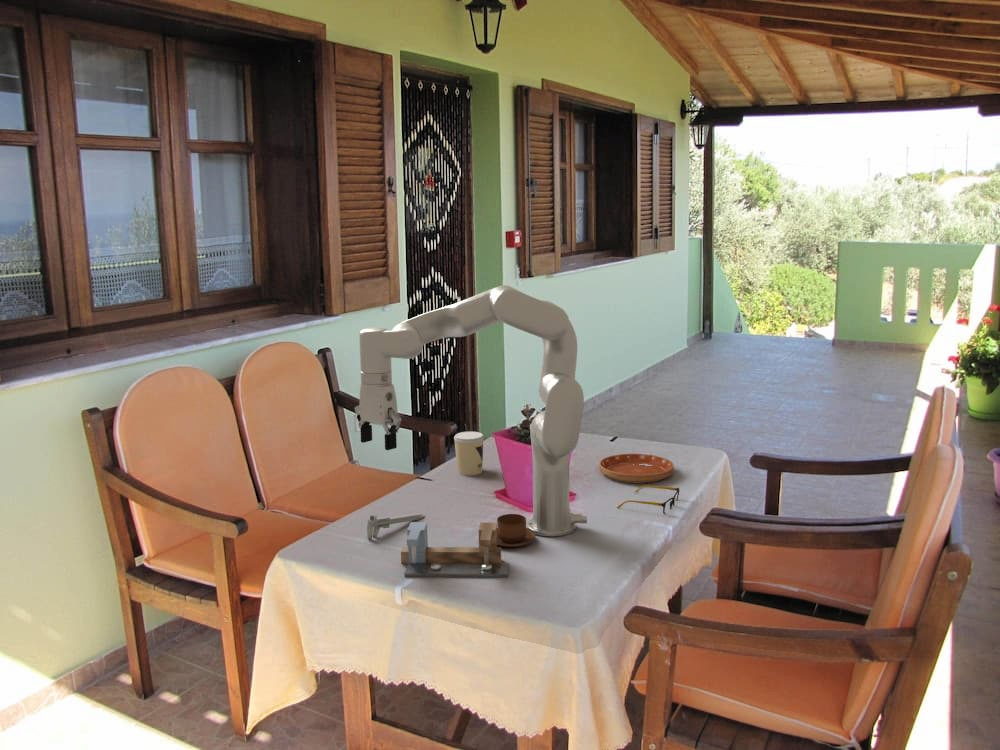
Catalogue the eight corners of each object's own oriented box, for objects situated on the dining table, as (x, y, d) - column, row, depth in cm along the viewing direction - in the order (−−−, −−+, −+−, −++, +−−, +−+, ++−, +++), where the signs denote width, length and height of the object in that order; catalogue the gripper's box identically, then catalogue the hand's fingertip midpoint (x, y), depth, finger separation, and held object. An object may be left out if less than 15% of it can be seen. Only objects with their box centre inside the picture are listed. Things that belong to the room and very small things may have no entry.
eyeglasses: (666, 517, 252) (666, 503, 251) (616, 509, 258) (616, 495, 258) (682, 501, 264) (682, 487, 263) (633, 494, 271) (634, 481, 270)
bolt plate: (508, 566, 220) (508, 560, 220) (507, 577, 215) (507, 570, 214) (408, 566, 222) (408, 559, 222) (404, 576, 216) (404, 570, 216)
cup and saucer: (480, 539, 238) (479, 516, 237) (520, 529, 244) (519, 507, 243) (503, 554, 228) (502, 531, 227) (544, 544, 234) (544, 521, 233)
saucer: (600, 462, 300) (600, 451, 299) (672, 464, 297) (672, 453, 296) (597, 485, 278) (597, 473, 277) (675, 487, 275) (675, 475, 274)
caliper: (370, 541, 239) (369, 517, 237) (367, 540, 239) (366, 516, 238) (425, 517, 254) (424, 495, 253) (422, 516, 255) (421, 494, 254)
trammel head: (428, 555, 227) (426, 522, 225) (421, 574, 216) (420, 539, 214) (412, 555, 227) (410, 522, 225) (404, 574, 217) (403, 539, 215)
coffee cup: (484, 476, 288) (483, 439, 286) (454, 476, 288) (453, 439, 286) (485, 467, 297) (484, 430, 295) (455, 467, 297) (454, 431, 295)
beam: (501, 557, 226) (500, 522, 224) (498, 576, 215) (498, 539, 213) (403, 556, 227) (402, 522, 226) (396, 575, 217) (394, 539, 215)
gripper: (410, 380, 224) (412, 449, 228) (367, 371, 236) (369, 435, 240) (386, 385, 219) (388, 455, 223) (342, 375, 231) (345, 441, 234)
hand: (378, 445), depth 231 cm, fingers open, 9 cm apart
